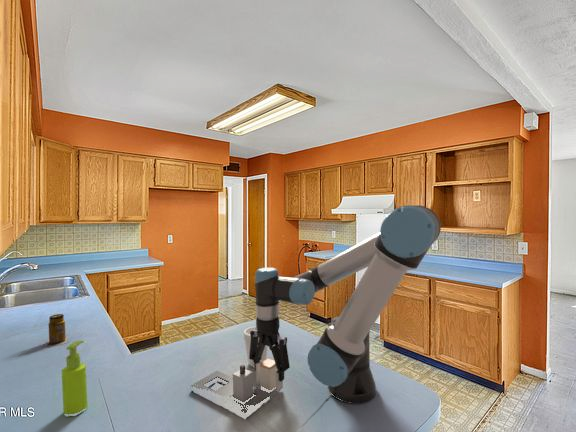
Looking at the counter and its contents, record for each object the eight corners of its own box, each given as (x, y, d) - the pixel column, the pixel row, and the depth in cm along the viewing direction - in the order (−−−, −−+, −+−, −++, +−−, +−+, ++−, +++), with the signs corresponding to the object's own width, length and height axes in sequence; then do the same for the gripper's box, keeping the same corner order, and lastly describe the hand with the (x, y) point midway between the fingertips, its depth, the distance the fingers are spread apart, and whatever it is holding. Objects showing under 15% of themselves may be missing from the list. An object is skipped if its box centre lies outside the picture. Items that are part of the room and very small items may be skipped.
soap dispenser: (93, 401, 98) (90, 338, 97) (79, 416, 91) (76, 349, 90) (74, 402, 97) (71, 339, 97) (58, 417, 91) (55, 349, 90)
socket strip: (270, 401, 96) (270, 393, 96) (245, 421, 87) (245, 413, 87) (217, 377, 110) (216, 370, 110) (191, 393, 101) (190, 385, 101)
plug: (278, 388, 102) (277, 361, 102) (270, 395, 99) (269, 367, 99) (268, 384, 105) (267, 358, 105) (260, 391, 102) (259, 363, 101)
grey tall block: (253, 400, 96) (252, 365, 95) (243, 408, 92) (242, 371, 92) (243, 396, 98) (242, 361, 98) (233, 403, 95) (232, 367, 94)
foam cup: (246, 373, 113) (245, 337, 112) (243, 360, 121) (242, 327, 121) (272, 368, 115) (271, 334, 115) (267, 357, 124) (266, 324, 124)
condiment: (66, 337, 148) (65, 312, 148) (67, 342, 142) (66, 316, 141) (46, 341, 143) (45, 315, 143) (47, 347, 137) (46, 320, 136)
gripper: (300, 318, 98) (301, 390, 99) (251, 307, 110) (253, 371, 111) (286, 326, 92) (288, 402, 93) (236, 313, 104) (238, 381, 105)
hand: (269, 385), depth 102 cm, fingers open, 8 cm apart
